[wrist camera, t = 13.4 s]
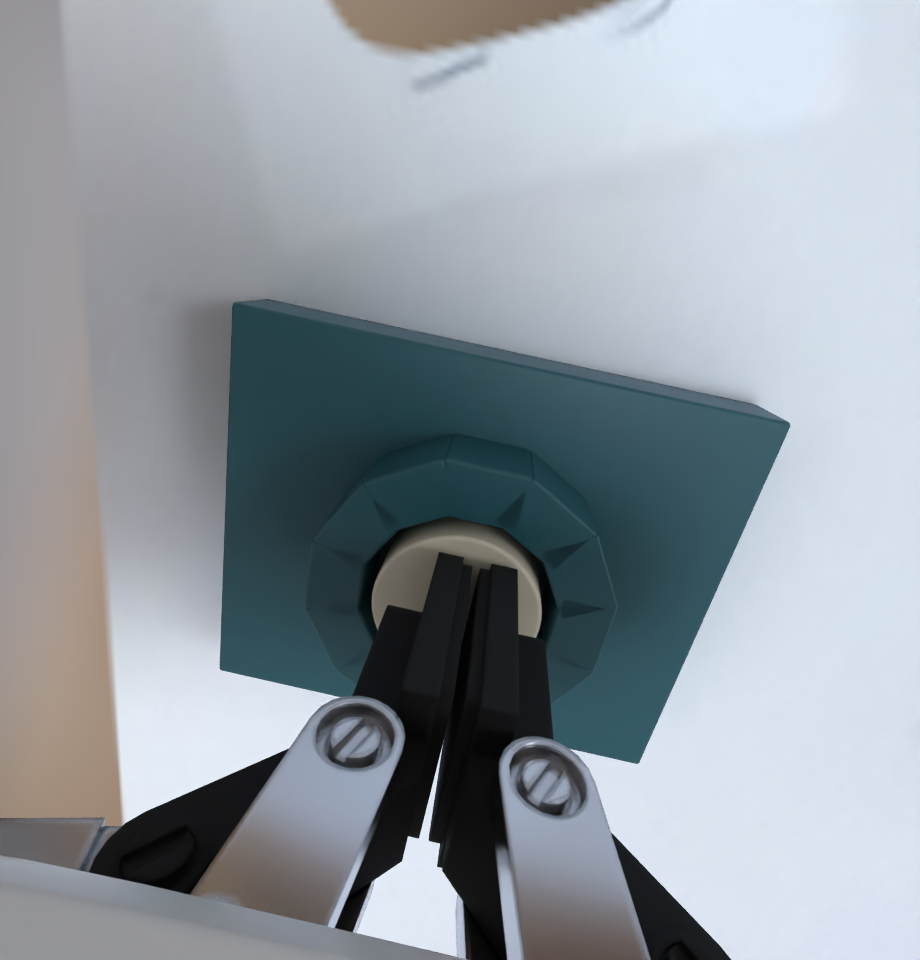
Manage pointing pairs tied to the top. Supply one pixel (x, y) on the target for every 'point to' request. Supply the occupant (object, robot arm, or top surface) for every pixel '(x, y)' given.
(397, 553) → the button
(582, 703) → the block
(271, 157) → the top surface
